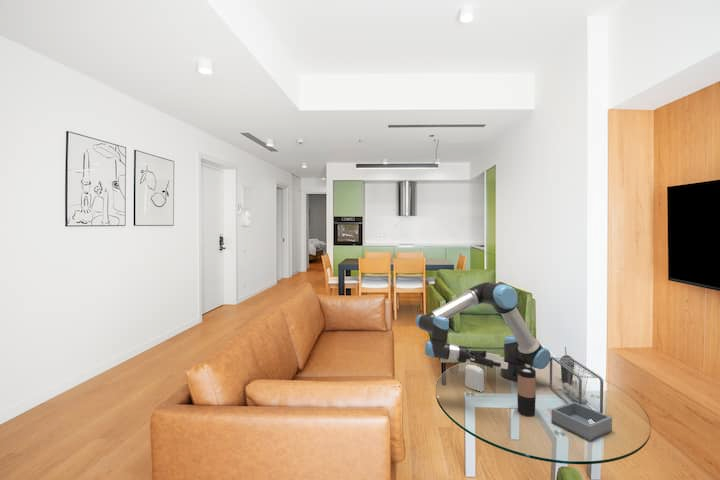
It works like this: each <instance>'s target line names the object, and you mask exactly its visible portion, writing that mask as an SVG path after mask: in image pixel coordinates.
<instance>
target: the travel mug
mask: <svg viewBox="0 0 720 480" xmlns="http://www.w3.org/2000/svg"><path fill="white" fill-rule="evenodd" d="M536 373H537V371H536V370H535V368H532V367H527V366H526V367H519V368H518V381H517V386H516V387H517V389H516V390H517V392H516V393H517V394H516V395H517V412H518V414H519V415H521V416H524V417H530V418H531V417H534V416H535V415H536V399H537V396H536V395H537V394H536V393H537V392H536V391H537V390H536V387H537V386H536V385H537V384H536V383H537V379H536V377H537V376H536V375H537V374H536Z"/></svg>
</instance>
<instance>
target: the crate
mask: <svg viewBox="0 0 720 480" xmlns="http://www.w3.org/2000/svg"><path fill="white" fill-rule="evenodd" d="M597 411H598V410H597ZM597 411H595V410H592V409H591V408H590V407H589V406H585V405H582V404H581V405H580V404H579V402H575V401H572V402H569V404H566V403H565V404H563V405H560V406H558V407H555V408H552V409H551V419H550V420H551V424H553V425H555V426H556V427H559V428H561V429H563V430H564V431H566V432H569V433H571V434H572V435H575V436H576V437H579V438H581V439H583V440H585V441H586V442H589V443H590V442H593V441H595V440H597V439H600V438H602V437H604V436H606V435H608V434H610V433H612V432H613V417H611V416H609V415H606V414H605V413H603V414H602V413H600V411H598V412H597ZM589 419H592V420H593V421H594V422H595V423H593V424H589V422H588V420H589Z"/></svg>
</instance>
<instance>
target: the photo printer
mask: <svg viewBox="0 0 720 480" xmlns="http://www.w3.org/2000/svg"><path fill="white" fill-rule="evenodd" d="M464 369H465V370H464V371H465V373H464V376H465V378H464V379H465V380H464V382H465V383H464V385H465V387H467V388H469V389H470V390H471V389H472V390H473V389H474V391H476V390H477V391H476V392H479V391H480V392H479V393H482V392H484V390H485V371H484V369H482V367H480V366H478V365H475V364H466V365H465V368H464Z"/></svg>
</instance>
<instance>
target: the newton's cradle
mask: <svg viewBox="0 0 720 480" xmlns="http://www.w3.org/2000/svg"><path fill="white" fill-rule="evenodd" d="M571 357H572V356H570V358H561V357H554V356H551V357H550V361H549V388H550V390H551V391H552V390H553V391H554V393H555V395H556V396H558V395H559V396H560V397H561V398H562V399H563V400H564V401H565V402H566V403H567V404H569V403H570V402H569V401H568V400H566V399H565V398H564V397H563V396H562V394H560V393H559V392H558V391H566V393H568V394H569V395H570V396H571V397H573V398H574V399H575V400H576V401H577V402H578V404H580V405H583V406H585V405H586V404H587V403H589V402H588V401H589V400H588V398H587V397H586V396H585V393H586V391H582V386H583V384H582V383H583V379H582V378H586V379H589V378H591V379H592V378H593V379H599V382H600V383H599V389H600V390H599V412H600V413H602V414H604V380H603V378H602V376H600V375H599V374H597V373H596V372H594V371H593V370H591V369H589V368H588V367H586V366H585V365H583V363H580V362H579V361H578V360H575V359H574V358H573V357H572V358H571ZM560 359H568V366H567V365H566V364H565V365H564V363H563V361H560ZM571 360H572V361H573V363H574V364H572V365H574V366H576V367H577V368H578V369H580V370H582V371H583V372H582V375H581V373H580V370H576V367H574V369H572V370H573V371H572V370H570V369H571V366H570V362H571V363H572V361H571ZM553 361H554V362H556V363H557V364H559V365H560V367H561V366H562V367H564V368H565V369H566V371H567V370H568V375H567V376H568V380H567V382H568V383H566V381H565V383H562V385H561V386H562V388H554V387H553ZM561 362H562V363H563V364H562V363H561ZM566 366H567V367H566ZM577 371H578V372H577ZM563 372H564V370H563ZM570 372H571V373H572V374H573V378H571V380H572V382H571V384H572V385H570V375H571V373H570ZM585 373H586V374H587V376H584V374H585ZM589 375H590V376H589ZM564 378H565V376H564ZM574 378H576V379H577V380H574V382H575V386H574V384H573V379H574ZM577 381H578V386H577ZM585 384H588V380H586V382H585ZM586 387H587V385H585V387H584V388H585V389H584V390H586V389H587V388H586ZM556 389H558V390H556ZM559 389H560V390H559ZM562 389H564V390H562ZM553 391H552V392H553ZM582 392H583V393H582ZM559 396H558V397H559ZM560 397H559V398H560ZM561 398H560V399H561ZM562 399H561V400H562ZM563 400H562V401H563ZM564 401H563V402H564ZM565 402H564V403H565ZM566 403H565V404H566ZM586 406H587V405H586Z"/></svg>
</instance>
